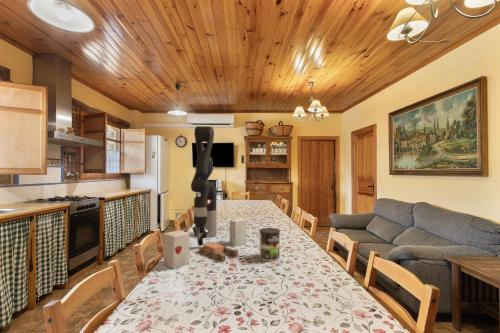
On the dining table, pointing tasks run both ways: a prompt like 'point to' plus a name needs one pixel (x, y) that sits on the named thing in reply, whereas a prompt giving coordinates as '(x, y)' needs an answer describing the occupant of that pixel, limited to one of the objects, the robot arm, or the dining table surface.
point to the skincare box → (237, 232)
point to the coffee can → (269, 244)
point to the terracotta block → (214, 247)
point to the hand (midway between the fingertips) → (200, 245)
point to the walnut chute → (217, 255)
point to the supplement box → (176, 249)
